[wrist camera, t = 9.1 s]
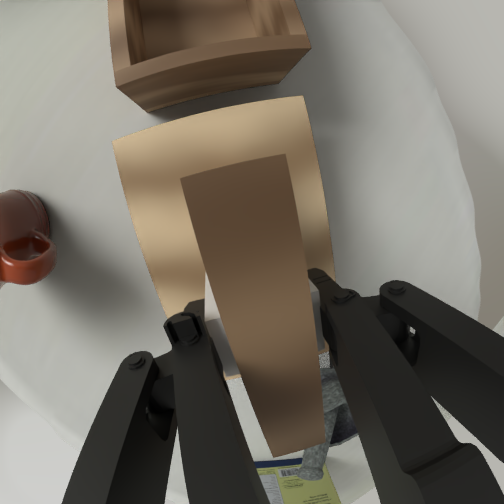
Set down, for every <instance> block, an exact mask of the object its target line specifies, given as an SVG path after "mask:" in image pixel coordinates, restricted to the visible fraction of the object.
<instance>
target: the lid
mask: <svg viewBox="0 0 504 504" xmlns="http://www.w3.org/2000/svg"><path fill="white" fill-rule="evenodd" d="M112 144H113V149H114V153H115V158H116V162H117V166H118V170H119V175H120V179H121V182H122V186H123V190H124V194H125V197H126V201H127V205H128V208H129V212H130V215H131V218H132V222H133V225H134V228H135V231H136V234H137V238H138V241H139V244H140V247H141V250H142V253H143V256H144V258H145V261H146V264H147V267H148V270H149V273H150V275H151V278H152V281H153V283H154V286H155V289H156V291H157V294H158V296H159V299H160V301H161V304H162V306H163V309H164V311H165V314H166V316H167V318H170V317H171V316H173V315H174V314H177V313H179V312H183V311H184V308H185V307H186V305H187V304H188V303H189V302H191V301H195V300H199V299H203V298H205V275H206V274H207V277H208V280H209V283H210V287H211V290H212V293H213V296H214V299H215V302H216V305H217V308H218V311H219V314H220V317H221V321H222V324H223V326H224V329H225V332H226V335H227V338H228V341H229V344H230V347H231V350H232V353H233V355H234V358H235V361H236V364H237V367H238V369H239V372H240V374H238V375H233V376H229V377H226V375H225V373H224V370H223V373H224V378H225V380H230V379H234V378H239V377H241V378H242V380H243V383H244V386H245V388H246V391H247V394H248V396H249V399H250V401H251V404H252V407H253V409H254V412H255V414H256V417H257V419H258V422H259V424H260V427H261V429H262V432H263V434H264V437H265V439H266V442H267V444H268V446H269V449H270V451H271V453H272V456H273V458H275V457H279V456H283V455H286V454H290V453H293V452H297V451H300V450H304V449H307V448H310V447H313V446H316V445H319V444H322V443H325V442H326V440H325V424H324V410H323V397H322V386H321V375H320V365H319V356H318V355H319V354H322V353H325V352H328V351H329V345H328V344H327V342H326V341H325V339H324V342H325V349H324V350H321V351H318V347H317V338H316V330H315V322H314V314H313V307H312V299H311V292H310V285H309V279H308V272H307V270H308V269H312V268H318V269H321V270H323V271H324V272H325V273H327V274H328V276H330V277H331V278H332V279H333V280H334V281H335V282H336V280H335V270H334V261H333V253H332V245H331V237H330V230H329V223H328V216H327V210H326V203H325V197H324V191H323V186H322V180H321V175H320V169H319V164H318V159H317V154H316V149H315V144H314V140H313V135H312V130H311V126H310V122H309V117H308V113H307V109H306V105H305V101H304V97H303V95H302V96H293V97H284V98H277V99H270V100H263V101H257V102H251V103H245V104H240V105H235V106H230V107H225V108H220V109H216V110H211V111H207V112H203V113H199V114H195V115H191V116H187V117H184V118H180V119H176V120H173V121H170V122H166V123H163V124H160V125H156V126H153V127H150V128H147V129H144V130H141V131H138V132H135V133H133V134H130V135H127V136H124V137H122V138H119V139H116V140H114V141H112Z"/></svg>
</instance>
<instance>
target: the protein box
mask: <svg viewBox="0 0 504 504" xmlns="http://www.w3.org/2000/svg"><path fill="white" fill-rule="evenodd" d="M302 460H303V458H297V459H287V460H276V461H259V462H254V464H255V466H256V469H257V472H258V474H259V477H260V479H261V482H262V484H263V487H264V489H265V492H266V494H267V496H268V499H269V501H270V504H341V501H340V499H339V497H338V494H337V492H336V489H335V487H334V485H333V482H332V480H331V477H330V475H329V472H328V470H327V468H326V465H325V463H324V466H323V469H322V470H323V472H324V475H323V478H322V479H321V480H316V481H309V480H304V479H301V478H299V477H297V470H298V469H299V468H300V467H301V465H302Z"/></svg>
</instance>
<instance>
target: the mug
mask: <svg viewBox="0 0 504 504" xmlns="http://www.w3.org/2000/svg"><path fill="white" fill-rule="evenodd" d="M49 233H50V229H49V219H48V215H47V213H46V210H45V208H44V206H43V204H42V203H41V201H40V200H39V199H38V198H37V197H36V196H35V195H34V194H32V193H31V192H28V191H23V190H8V191H5V192H2V193H0V289H1V288H2V286H3V285H4V284H6V283H14V284H19V285H30V284H34V283H37V282H39V281H41V280H42V279H44V278H45V277H46V276H48V275H49V274H50V272H51V271H52V270H53V269H54V267H55V265H56V261H57V248H56V245H55V243H54V242H53V241H52V240H50V239H49Z"/></svg>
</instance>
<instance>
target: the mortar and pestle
mask: <svg viewBox="0 0 504 504" xmlns="http://www.w3.org/2000/svg"><path fill="white" fill-rule="evenodd" d="M320 375H321V386H322V397H323V410H324V424H325V440H326V442H325V443H322V444H319V445H316V446H313V447H310V448H307V449H304V454H303V460H302V465H301V467H300V468H299V469H298V470H297V477H299V478H301V479H304V480H309V481H316V480H321V479H322V478H323V475H324V472H323V470H322V469H323V466H324V462H325V459H326V455H327V452H328V448H329V447H332V446H337V445H340V444H342V443H344V442H346V441H348V440H350V439H352V438H354V437H355V436H357V435H358V432H357V429H356V426H355V423H354V420H353V418H352V415H351V412H350V409H349V407H348V404H347V401H346V398H345V396H344V393H343V390H342V387H341V385H340V382H339V379H338V377H337V374H336V372H335V369H334V367H333V369H330V368H321V369H320Z"/></svg>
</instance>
